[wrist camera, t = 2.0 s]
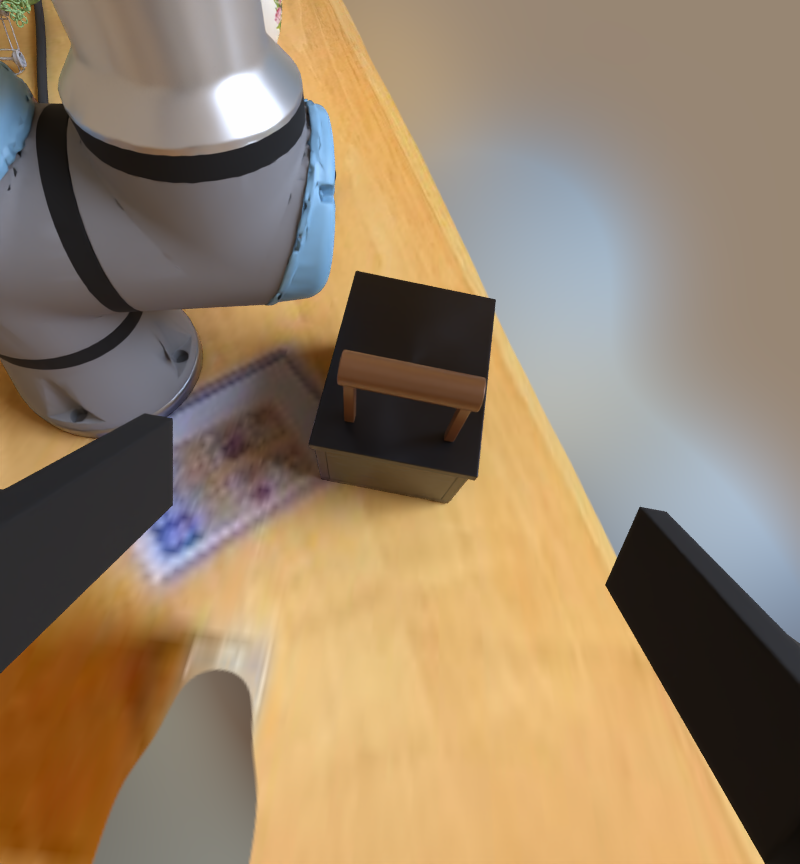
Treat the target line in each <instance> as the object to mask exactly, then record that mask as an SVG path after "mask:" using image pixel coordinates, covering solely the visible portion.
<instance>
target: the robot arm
mask: <svg viewBox="0 0 800 864" xmlns="http://www.w3.org/2000/svg"><path fill="white" fill-rule="evenodd" d="M51 1H52V3H53V5H54V7H55V9H56V11H57V13H58V16H59V18H60V20H61V22H62V24H63V26H64V28H65V31H66V33H67V35H68V37H69V39H70V41H71V48H70V50H69V53H68V55H67V58H66V61H65V63H64V66H63V68H62V71H61V74H60V77H59V82H58V91H59V95H60V98H61V100H62V103H63V104H48V90H47V67H46V36H45V22H44V14H43V7H42V0H40V1H39V2H37V3H35V4H34V10H35V20H36V40H37V87H38V103H37V102H35V101H33V95H32V93H31V91H30V89H29V88H28V86H27V84H26V83H24V81H23V80H22V79H21V78H19V77H17V76H16V75H15V74H14V72H13V71H12V70H11V69H10V68H9V67H8V66H7V65H6V64H5V63H3V62H1V61H0V360H1V362H2V364H3V366H4V367H5V369H6V371H7V373H8V374H9V376H10V378H11V380H12V382H13V383H14V385H15V387H16V389H17V390H18V392H19V394H20V396H21V397H22V398H23V400H24V401H25V402H26V403H27V404H28V406H29V407H30V408H31V409H32V410H33V411H34V412H35V413H36V414H38V415H39V416H40V417H42V418H43V419H45V420H46V421H48V422H49V423H51V424H52V425H54V426H56V427H57V428H59V429H61V430H63V431H66V432H69V433H71V434H75V435H79V436H84V437H94V438H98V439H96V440H94V441H92V442H91V443H89V444H87V445H85V446H83V447H81V448H80V449H78V450H76V451H74V452H72V453H70V454H68V455H67V456H65V457H63V458H61V459H59V460H57V461H56V462H54V463H52V464H50V465H48V466H46V467H45V468H43V469H41V470H39V471H37V472H35V473H33V474H32V475H30V476H28V477H26V478H24V479H22V480H21V481H19V482H17V483H15V484H13V485H11V486H10V487H8V488H6V489H4V490H2V489H0V673H1V672H2V671H3V670H4V669H5V668H6V667H7V666H8V665H9V664H10V663H11V662H12V661H13V660H15V659H16V658H17V657H18V656H19V655H20V654H21V653H22V652H23V651H24V650H25V649H26V648H27V647H28V646H29V645H30V644H31V643H32V642H33V641H34V640H35V639H36V638H37V637H38V636H39V635H40V634H41V633H42V632H43V631H44V630H45V629H46V628H47V627H48V626H49V625H50V624H51V623H52V622H53V621H55V620H56V619H57V618H58V617H59V616H60V615H61V614H62V613H63V612H64V611H65V610H66V609H67V608H68V607H69V606H70V605H71V604H72V603H73V602H74V601H75V600H76V599H77V598H78V597H79V596H80V595H81V594H82V593H83V592H84V591H85V590H86V589H87V588H88V587H89V586H90V585H91V584H92V583H93V582H94V581H96V580H97V579H98V578H99V577H100V576H101V575H102V574H103V573H104V572H105V571H106V570H107V569H108V568H109V567H110V566H111V565H112V564H113V563H114V562H115V561H116V560H117V559H118V558H119V557H120V556H121V555H122V554H123V553H124V552H125V551H126V550H127V549H128V548H129V547H130V546H131V545H132V544H133V543H134V542H136V541H137V540H138V539H139V538H140V537H141V536H142V535H143V534H144V533H145V532H146V531H147V530H148V529H149V528H150V527H151V526H152V525H153V524H154V523H155V522H156V521H157V520H158V519H159V518H160V517H161V516H162V515H163V514H164V513H165V512H166V511H167V510H168V509H169V508H170V507H171V506H172V505H173V419H172V418H167V416H168V415H169V414H171V413H172V412H173V411H174V410H176V409H177V408H178V407H179V406H180V405H181V404H182V403H183V402H184V400H185V399H186V398H187V397H188V395H189V394H190V393H191V391H192V390H193V388H194V386H195V384H196V382H197V380H198V378H199V375H200V372H201V367H202V360H203V351H202V345H201V341H200V338H199V336H198V333H197V331H196V330H195V328H194V326H193V324H192V322H191V320H190V319H189V317H188V316H187V315H186V313H185V312H184V311H183V310H182V309H193V308H211V307H230V306H248V305H274V304H276V303H278V302H282V301H290V300H297V299H305V298H310V297H312V296H314V295H316V294H317V293H319V292H320V291H321V290H322V289H323V287H324V286H325V284H326V282H327V280H328V277H329V273H330V269H331V263H332V256H333V247H334V233H335V201H334V197H333V195H334V190H335V188H334V184H335V158H334V144H333V135H332V129H331V124H330V119H329V116H328V113H327V112H326V110H325V109H324V107H322V106H321V105H319V104H314V103H313V102H312V101H311V100H309V101H307V99H304V96H303V86H302V79H301V74H300V72H299V70H298V68H297V66H296V64H295V63H294V61H293V60H292V58H291V57H290V56H289V55H288V54H287V53H286V52H285V51H284V50H283V49H282V48H281V47H280V46H279V45H278V44H277V43H276V42H275V41H274V40H273V39H272V38H271V37H270V36H269V35H268V34H267V33H266V31H265V24H264V17H263V10H262V4H261V0H51ZM605 585H606V587H607V589H608V591H609V592H610V594H611V596H612V598H613V599H614V601H615V603H616V605H617V606H618V608H619V610H620V612H621V613H622V615H623V617H624V619H625V620H626V622H627V624H628V625H629V627H630V629H631V631H632V632H633V634H634V636H635V638H636V639H637V641H638V643H639V645H640V646H641V648H642V650H643V652H644V653H645V655H646V657H647V659H648V660H649V662H650V664H651V666H652V667H653V669H654V671H655V673H656V674H657V676H658V678H659V680H660V681H661V683H662V685H663V687H664V688H665V690H666V692H667V693H668V695H669V697H670V699H671V700H672V702H673V704H674V706H675V707H676V709H677V711H678V713H679V714H680V716H681V718H682V720H683V721H684V723H685V725H686V727H687V728H688V730H689V732H690V734H691V735H692V737H693V739H694V741H695V742H696V744H697V746H698V748H699V749H700V751H701V753H702V754H703V756H704V758H705V760H706V761H707V763H708V765H709V767H710V768H711V770H712V772H713V774H714V775H715V777H716V779H717V781H718V782H719V784H720V786H721V788H722V789H723V791H724V793H725V795H726V796H727V798H728V800H729V802H730V803H731V805H732V807H733V809H734V810H735V812H736V814H737V816H738V817H739V819H740V821H741V822H742V824H743V826H744V828H745V829H746V831H747V833H748V835H749V836H750V838H751V840H752V842H753V843H754V845H755V847H756V849H757V850H758V852H759V854H760V856H761V857H762V859H763V861H764V863H765V864H800V643H798V642H797V641H795V640H794V639H793V638H791V637H790V636H789V635H787V634H786V633H785V632H784V631H783V630H782V629H781V628H780V627H779V626H778V624H777V623H776V622H774V621H773V620H772V618H770V617H769V615H767V614H766V612H765V611H764V610H763V609H762V608H761V607H760V606H759V605H758V604H757V603H756V602H755V601H754V600H753V599H752V598H751V597H750V596H749V595H748V594H747V593H746V592H745V591H744V590H743V589H742V588H741V587H740V586H739V585H738V584H737V583H736V582H735V581H734V580H733V579H732V578H731V577H730V576H729V575H728V574H727V573H726V572H725V571H724V570H723V569H722V568H721V567H720V566H719V565H718V564H717V563H716V562H715V561H714V560H713V559H712V558H711V557H710V556H709V555H708V554H707V553H706V552H705V551H704V550H703V549H702V548H701V547H700V546H699V545H698V544H697V542H696V541H695V540H694V539H693V538H692V537H690V536H689V534H688V533H687V532H686V531H685V530H683V528H682V527H681V526H680V525H679V524H678V523H677V522H676V521H675V520H674V519H673V518H672V517H671V516H670V515H669V514H668V513H667V512H664V511H659V510H654V509H648V508H643V507H639V510H638V512H637V514H636V517H635V519H634V521H633V523H632V526H631V528H630V530H629V532H628V535H627V537H626V539H625V542H624V544H623V546H622V548H621V550H620V553H619V555H618V557H617V559H616V562H615V564H614V566H613V568H612V571H611V573H610V575H609V577H608V580H607V582H606V584H605Z"/></svg>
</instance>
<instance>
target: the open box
mask: <svg viewBox="0 0 800 864" xmlns="http://www.w3.org/2000/svg"><path fill="white" fill-rule="evenodd" d="M315 452H316V457H317V461H318V466H319V470H320V475H321V479H323V480H328V481H333V482H338V483H344V484H349V485H354V486H359V487H364V488H370V489H375V490H380V491H385V492H390V493H396V494H401V495H406V496H411V497H416V498H421V499H427V500H432V501H437V502H442V503H448V502H449V501H450V500H451V499H452V498H453V497H454V495H455V494H456V493H457V492H458V491H459V489H460V488H461V487H462V486H463V485H464V483H465V482H466V481H467V480H468V479H465V478H460V477H455V476H449V475H444V474H439V473H434V472H429V471H424V470H419V469H413V468H408V467H403V466H398V465H393V464H388V463H383V462H377V461H372V460H367V459H362V458H357V457H352V456H346V455H341V454H336V453H331V452H326V451H321V450H316V449H315Z"/></svg>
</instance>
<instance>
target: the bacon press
mask: <svg viewBox="0 0 800 864" xmlns="http://www.w3.org/2000/svg"><path fill="white" fill-rule="evenodd" d="M495 302H496V300H495V299H491V298H486V297H481V296H476V295H471V294H466V293H462V292H457V291H452V290H447V289H442V288H437V287H432V286H428V285H423V284H418V283H413V282H408V281H403V280H398V279H393V278H389V277H384V276H379V275H374V274H369V273H364V272H359V271H356V272H355V276H354V280H353V283H352V287H351V291H350V294H349V298H348V302H347V305H346V309H345V313H344V316H343V320H342V324H341V327H340V331H339V334H338V338H337V342H336V345H335V349H334V353H333V356H332V360H331V364H330V367H329V371H328V375H327V378H326V382H325V386H324V389H323V393H322V397H321V400H320V404H319V408H318V411H317V415H316V419H315V422H314V426H313V429H312V433H311V437H310V440H309V448H310V449H316V450H321V451H326V452H331V453H336V454H341V455H346V456H352V457H357V458H362V459H367V460H372V461H377V462H383V463H388V464H393V465H398V466H403V467H408V468H413V469H419V470H424V471H429V472H434V473H439V474H444V475H449V476H455V477H460V478H465V479H470V480H475V479H476V478H477V477H478V469H479V459H480V450H481V440H482V430H483V420H484V410H485V401H486V391H487V381H488V371H489V361H490V351H491V342H492V332H493V322H494V312H495Z"/></svg>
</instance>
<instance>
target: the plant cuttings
mask: <svg viewBox="0 0 800 864" xmlns="http://www.w3.org/2000/svg"><path fill="white" fill-rule="evenodd" d="M39 1H40V0H0V16H1V15H2V16H5V17H6V16H9V12H11V14H10V17H11V19H12V20H13V21H16V24H17V26H18V27H20V28H22V27H23V26H24V24H27V23H28V19H27V18H26V17H25V16H24V15H23V13H25V12H28V13H29V14H30V12H29V11H31V10H30V9H31V7H30V5H33V4H35V3H37V2H39ZM5 3H8V4H11V5H10V6H11V7H12V8H13V9H14V10H13V9H11V8H10V7H9V6H8V5H7V4H5ZM12 5H13V6H14V7H13V6H12ZM25 6H26V8H25ZM21 7H23V9H24V10H23V9H21ZM17 8H18V9H19V10H17ZM8 9H9V10H8ZM13 12H14V13H16V15H15V16H14V14H13ZM21 14H22V15H21ZM2 16H1V18H0V20H2V22H3V20H9V22H10V19H9V18H8V17H6V18H7V19H6V18H2ZM12 16H13V17H15V19H13V18H12ZM23 17H24V18H25V19H26V22H24V21H22V20H21V19H22V18H23ZM18 21H21V22H22V26H19V25H18ZM3 25H4V28H5V31H6V34H7V36H8V33H7V30H6V27H5V24H4V22H3ZM10 25H11V22H10ZM11 28H12V25H11ZM12 31H13V28H12ZM13 34H14V31H13ZM14 37H15V34H14ZM8 39H9V36H8ZM15 40H16V37H15ZM9 42H10V39H9ZM16 43H17V40H16ZM10 45H11V42H10ZM17 46H18V43H17ZM11 48H12V45H11ZM0 50H12V51H13V53H12V56H11V57H0V60H13V61H14V62H15V63H16V65H17V66H18V68H19V67H23V68H24V67H26V66H27V64H26V60H25V58H24V56H23V54H22V53H21V52H20V49H19V46H18V49H13V48H12V49H0ZM14 50H16V51H14ZM24 70H25V68H24V69H23V70H22V71H20V68H19V71H20V72H19V73H16V74H15V75H17V74H20V73H22V72H23V71H24Z"/></svg>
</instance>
